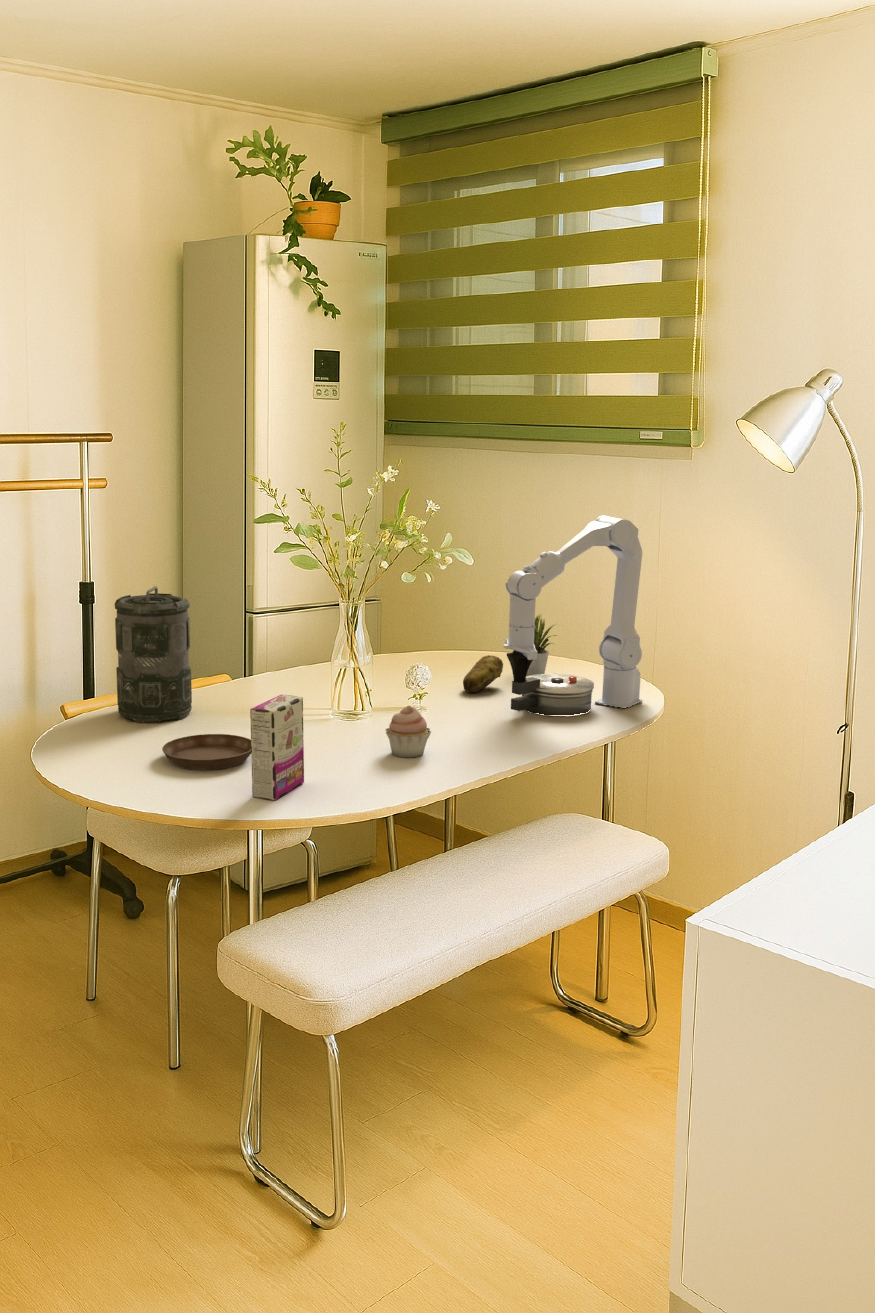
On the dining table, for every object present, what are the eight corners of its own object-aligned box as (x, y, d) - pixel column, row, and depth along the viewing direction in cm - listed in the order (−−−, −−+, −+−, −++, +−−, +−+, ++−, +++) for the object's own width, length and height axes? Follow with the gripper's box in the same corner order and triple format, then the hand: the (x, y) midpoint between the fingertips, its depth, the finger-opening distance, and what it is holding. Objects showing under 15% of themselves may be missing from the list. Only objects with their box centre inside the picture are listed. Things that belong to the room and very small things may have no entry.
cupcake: (380, 759, 234) (381, 709, 232) (388, 745, 243) (389, 698, 241) (427, 762, 233) (428, 712, 231) (434, 748, 242) (435, 700, 240)
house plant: (498, 667, 316) (500, 606, 312) (549, 666, 318) (551, 606, 315) (511, 680, 302) (514, 616, 299) (564, 679, 305) (567, 616, 301)
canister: (184, 724, 255) (181, 595, 249) (109, 723, 255) (105, 593, 249) (198, 705, 270) (195, 583, 264) (128, 704, 270) (124, 581, 264)
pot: (552, 695, 288) (553, 675, 287) (605, 709, 276) (607, 688, 275) (488, 710, 272) (488, 689, 271) (541, 725, 261) (542, 703, 260)
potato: (449, 689, 291) (450, 657, 290) (491, 682, 299) (492, 651, 297) (470, 696, 285) (471, 663, 283) (512, 689, 292) (513, 657, 291)
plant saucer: (144, 759, 231) (143, 744, 230) (218, 742, 244) (218, 727, 243) (199, 780, 219) (199, 765, 219) (274, 761, 232) (274, 746, 232)
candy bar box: (280, 779, 220) (280, 693, 217) (304, 783, 219) (304, 696, 215) (249, 797, 210) (248, 707, 207) (274, 801, 209) (274, 711, 205)
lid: (555, 673, 287) (556, 662, 286) (608, 687, 275) (609, 676, 274) (489, 686, 273) (489, 675, 272) (542, 701, 260) (543, 689, 260)
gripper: (493, 619, 272) (491, 677, 275) (517, 632, 259) (514, 692, 262) (522, 618, 275) (519, 676, 278) (547, 630, 261) (544, 691, 264)
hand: (519, 684), depth 270 cm, fingers closed, pressing on lid
